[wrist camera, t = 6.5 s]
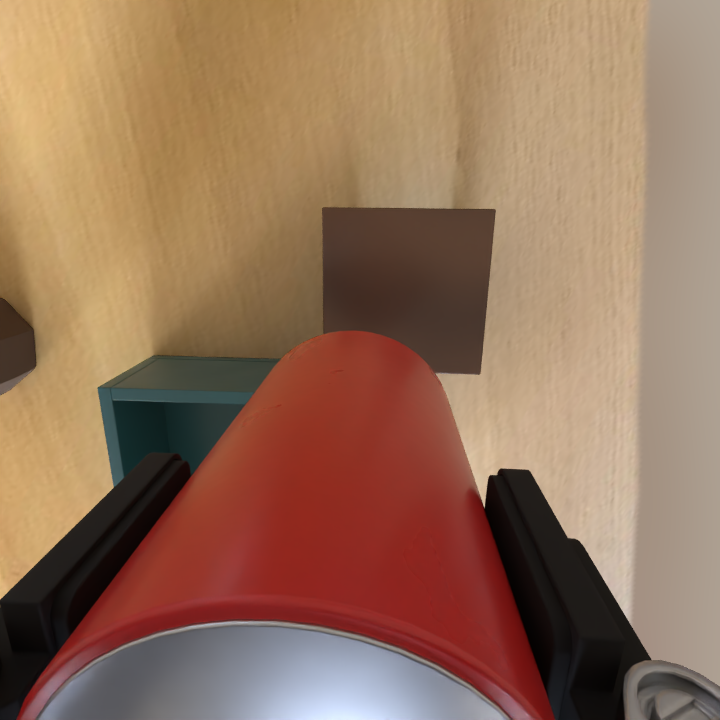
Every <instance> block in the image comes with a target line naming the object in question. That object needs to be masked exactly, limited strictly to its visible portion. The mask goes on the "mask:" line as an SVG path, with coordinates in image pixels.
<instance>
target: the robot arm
mask: <svg viewBox="0 0 720 720" xmlns="http://www.w3.org/2000/svg"><path fill="white" fill-rule="evenodd" d="M190 477H191V471H190V465H189V463H188V462H187V461H182V458H181V456H180V455H179V454H175V453H149V454H148V455H147V456H146V457H145V458H144V459H143V460H142V461H141V462H140V463H139V464H138V465H137V466H136V467H134V468H133V469H132V470H131V471H130V472H129V473H128V474H127V475H126V476H125V477H124V478H123V479H122V480H121V481H120V482H119V483H118V484H117V485H116V486H115V487H114V488H113V489H112V490H111V491H110V492H109V493H108V494H107V495H106V496H105V497H104V498H103V499H102V500H101V501H100V502H99V503H98V504H97V505H96V506H95V507H94V508H93V509H92V510H91V511H90V512H89V513H88V514H87V515H86V516H85V517H84V518H83V519H82V520H81V521H80V522H79V523H78V524H77V525H76V526H75V527H74V528H73V529H72V530H71V531H70V532H69V533H68V534H67V535H66V536H65V537H64V538H62V539H61V540H60V541H59V542H58V543H57V544H56V545H55V546H54V547H53V548H52V549H51V550H50V551H49V552H48V553H47V554H46V555H45V556H44V557H43V558H42V559H41V560H40V561H39V562H38V563H37V564H36V565H35V566H34V567H33V568H32V569H31V570H30V571H29V572H28V573H27V574H26V575H25V576H24V577H23V578H22V579H21V580H20V581H19V582H18V583H17V584H16V585H15V586H14V587H13V588H12V589H11V590H10V591H9V592H8V593H7V594H6V595H5V596H4V597H3V598H2V599H1V600H0V720H16V719H17V717H18V714H19V712H20V709H21V707H22V704H23V702H24V699H25V698H26V696H27V695H28V693H29V692H30V690H31V689H32V687H33V686H34V684H35V683H36V681H37V679H38V678H39V676H40V675H41V674H42V672H43V671H44V670H45V668H46V667H47V666H48V664H49V663H50V662H51V661H52V659H53V658H54V657H55V655H56V654H57V653H58V651H59V650H60V649H61V647H62V646H63V645H64V643H65V642H66V641H67V639H68V638H69V637H70V635H71V634H72V633H73V632H74V630H75V629H76V628H77V626H78V625H79V624H80V622H81V621H82V620H83V618H84V617H85V616H86V614H87V613H88V612H89V610H90V609H91V608H92V606H93V605H94V604H95V603H96V601H97V600H98V599H99V597H100V596H101V595H102V593H103V592H104V591H105V589H106V588H107V587H108V585H109V584H110V583H111V581H112V580H113V579H114V577H115V576H116V575H117V573H118V572H119V571H120V570H121V568H122V567H123V566H124V564H125V563H126V562H127V560H128V559H129V558H130V556H131V555H132V554H133V552H134V551H135V550H136V548H137V547H138V546H139V544H140V543H141V542H142V541H143V539H144V538H145V537H146V535H147V534H148V533H149V531H150V530H151V529H152V527H153V526H154V525H155V523H156V522H157V521H158V519H159V518H160V517H161V515H162V514H163V513H164V511H165V510H166V509H167V508H168V506H169V505H170V504H171V502H172V501H173V500H174V498H175V497H176V496H177V494H178V493H179V492H180V490H181V489H182V488H183V486H184V485H185V484H186V482H187V481H188V480H189V479H190ZM485 512H486V515H487V518H488V521H489V524H490V527H491V530H492V533H493V536H494V539H495V542H496V545H497V548H498V551H499V554H500V557H501V560H502V563H503V566H504V568H505V571H506V574H507V577H508V580H509V583H510V586H511V589H512V592H513V595H514V598H515V601H516V604H517V607H518V610H519V613H520V616H521V619H522V622H523V625H524V628H525V631H526V634H527V637H528V640H529V643H530V646H531V649H532V652H533V655H534V658H535V661H536V664H537V667H538V670H539V673H540V676H541V679H542V682H543V684H544V687H545V690H546V693H547V696H548V699H549V702H550V705H551V708H552V711H553V714H554V717H555V720H720V686H718V685H717V684H715V683H713V682H712V681H710V680H709V679H707V678H706V677H704V676H703V675H701V674H699V673H697V672H695V671H693V670H690V669H688V668H686V667H684V666H681V665H678V664H674V663H670V662H666V661H662V660H651V658H650V657H649V655H648V653H647V652H646V650H645V648H644V647H643V645H642V644H641V642H640V640H639V638H638V637H637V635H636V633H635V631H634V630H633V628H632V626H631V625H630V623H629V621H628V620H627V618H626V616H625V615H624V613H623V611H622V610H621V608H620V606H619V605H618V603H617V601H616V600H615V598H614V596H613V595H612V593H611V591H610V590H609V588H608V586H607V585H606V583H605V581H604V580H603V578H602V576H601V575H600V573H599V571H598V570H597V568H596V566H595V565H594V563H593V561H592V560H591V558H590V556H589V555H588V553H587V551H586V550H585V548H584V546H583V545H582V544H581V543H580V541H578V540H576V539H570V538H567V536H566V534H565V532H564V530H563V529H562V527H561V525H560V523H559V522H558V520H557V518H556V516H555V515H554V513H553V511H552V509H551V507H550V506H549V504H548V502H547V500H546V499H545V497H544V495H543V493H542V492H541V490H540V488H539V486H538V484H537V483H536V481H535V479H534V477H533V476H532V474H531V472H530V471H529V470H520V469H500V470H499V471H498V474H497V475H490V476H489V479H488V484H487V493H486V502H485Z"/></svg>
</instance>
